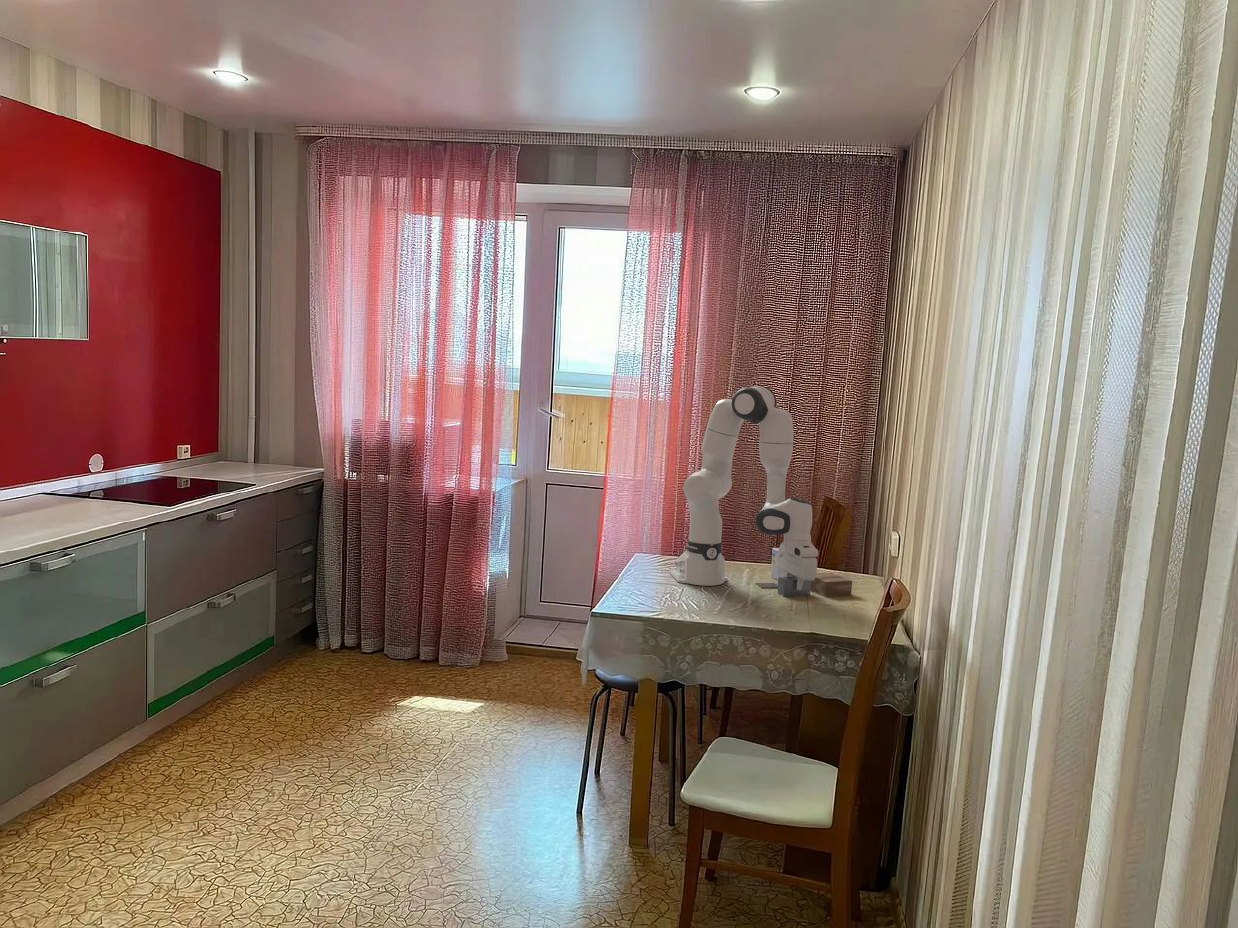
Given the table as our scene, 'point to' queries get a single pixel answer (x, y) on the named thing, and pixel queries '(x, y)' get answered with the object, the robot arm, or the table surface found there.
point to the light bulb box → (774, 570)
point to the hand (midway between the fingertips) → (794, 587)
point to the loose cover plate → (767, 585)
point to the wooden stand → (831, 585)
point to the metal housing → (792, 586)
